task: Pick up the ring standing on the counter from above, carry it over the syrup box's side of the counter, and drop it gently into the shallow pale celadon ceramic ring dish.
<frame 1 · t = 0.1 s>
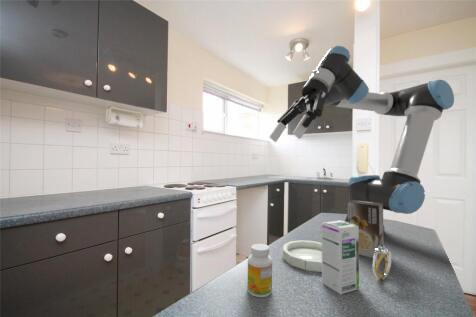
hand: (283, 137, 69), 36 cm above the countertop, tool tilted 35°, fingers open, 13 cm apart
supplement bottle: (259, 291, 50), on the countertop
coffee box: (365, 253, 72), on the countertop
ring: (382, 279, 56), on the countertop
ring dish: (310, 258, 67), on the countertop
syrup box: (339, 286, 53), on the countertop
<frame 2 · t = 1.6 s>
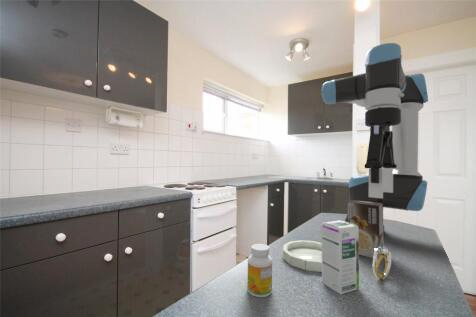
hand: (381, 194, 56), 21 cm above the countertop, tool pointing down, fingers open, 13 cm apart
nothing on the countertop moved.
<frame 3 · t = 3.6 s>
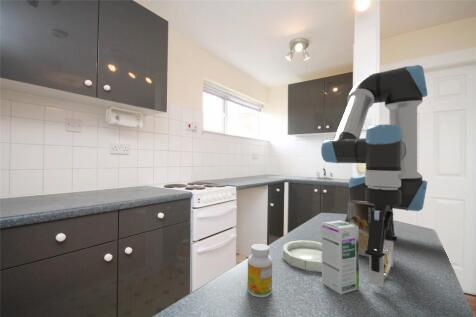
hand: (382, 273, 56), 1 cm above the countertop, tool pointing down, fingers open, 13 cm apart
nothing on the countertop moved.
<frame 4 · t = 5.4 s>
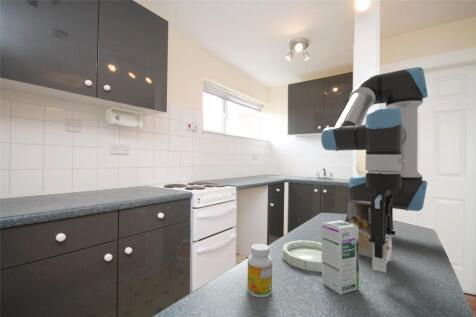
hand: (382, 264, 56), 3 cm above the countertop, tool pointing down, fingers closed on ring, 7 cm apart
ring: (382, 266, 56), point 3 cm above the countertop, touching gripper
everything else where it was.
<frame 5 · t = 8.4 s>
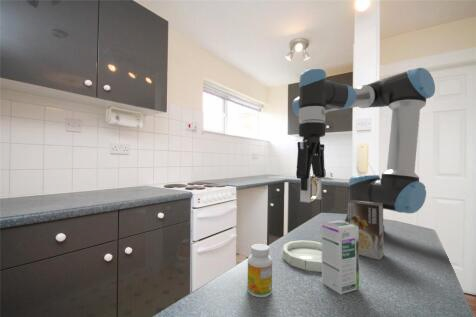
hand: (311, 200, 67), 17 cm above the countertop, tool pointing down, fingers closed on ring, 7 cm apart
ring: (310, 201, 67), point 17 cm above the countertop, touching gripper
everything else where it was.
when the fingers open (3 cm above the countertop, at t = 11.7 s): ring drops 1 cm, resting on ring dish.
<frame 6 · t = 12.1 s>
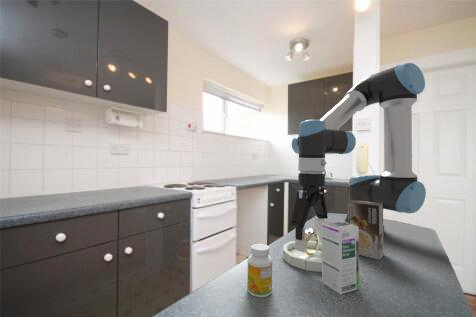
hand: (310, 244, 67), 4 cm above the countertop, tool pointing down, fingers open, 13 cm apart
ring: (310, 256, 67), point 1 cm above the countertop, touching ring dish
everything else where it was.
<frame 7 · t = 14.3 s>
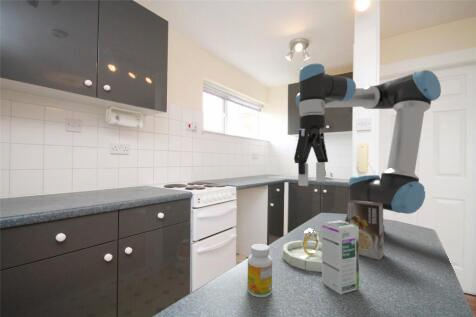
hand: (312, 183, 71), 22 cm above the countertop, tool pointing down, fingers open, 13 cm apart
nothing on the countertop moved.
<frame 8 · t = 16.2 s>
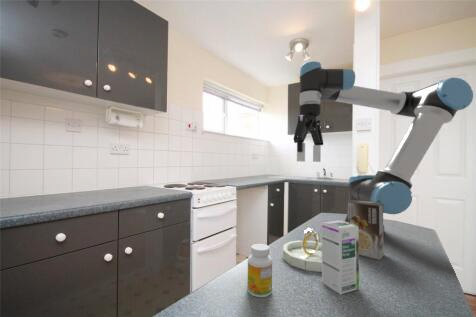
hand: (309, 161, 85), 29 cm above the countertop, tool pointing down, fingers open, 13 cm apart
nothing on the countertop moved.
at the end: ring inside the target area on the ring dish (0.2 cm from its centre), point 0.6 cm above the ring dish's base; the gripper is holding nothing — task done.
